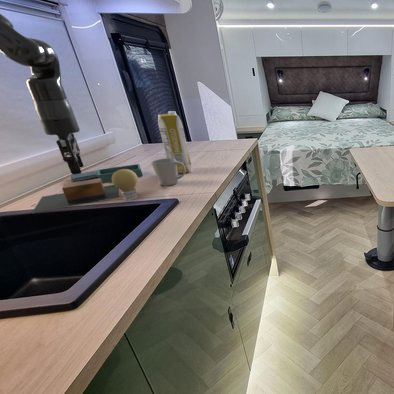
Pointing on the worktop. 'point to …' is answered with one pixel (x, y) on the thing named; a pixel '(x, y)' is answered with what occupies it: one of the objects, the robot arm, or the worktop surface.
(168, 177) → the cup
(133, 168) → the tray
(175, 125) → the juice carton
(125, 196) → the light bulb
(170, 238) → the worktop surface
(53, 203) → the slate board
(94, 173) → the smartphone
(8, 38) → the robot arm
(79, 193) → the eraser
